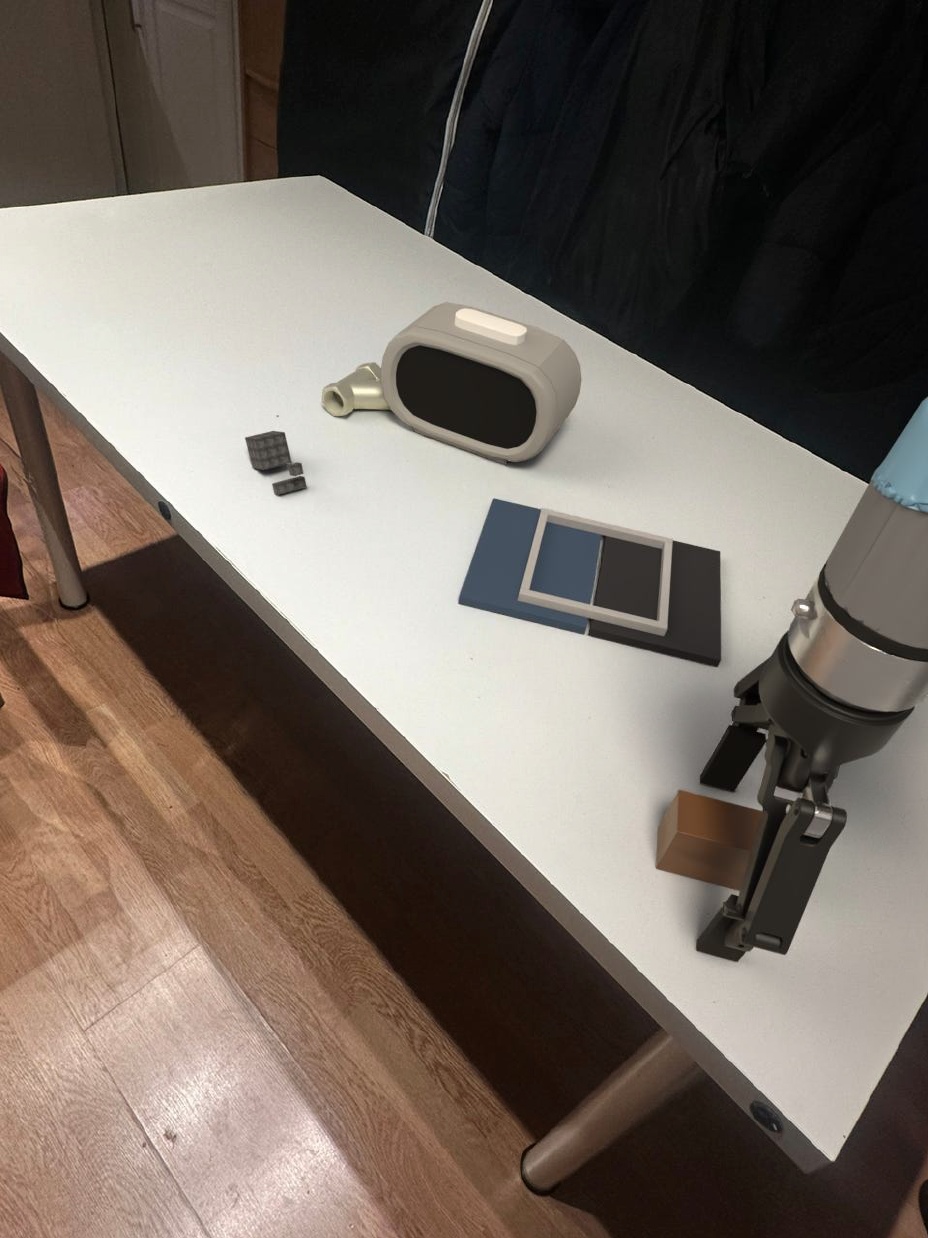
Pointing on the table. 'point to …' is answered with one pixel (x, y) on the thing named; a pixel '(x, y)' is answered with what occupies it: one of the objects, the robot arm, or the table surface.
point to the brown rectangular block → (707, 839)
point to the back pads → (626, 588)
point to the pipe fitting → (356, 391)
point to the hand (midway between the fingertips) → (716, 861)
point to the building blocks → (275, 459)
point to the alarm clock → (481, 381)
